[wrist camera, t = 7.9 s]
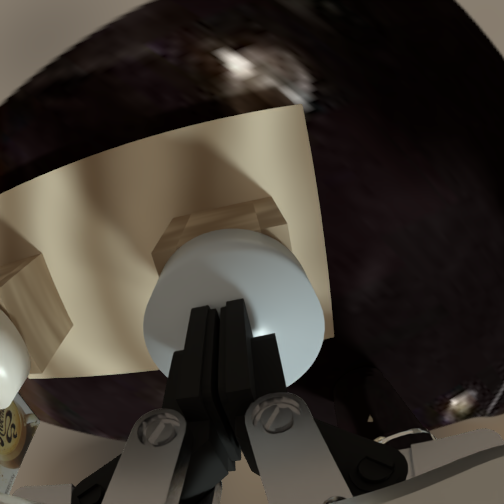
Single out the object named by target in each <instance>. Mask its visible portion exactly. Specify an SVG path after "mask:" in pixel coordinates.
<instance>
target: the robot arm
mask: <svg viewBox="0 0 504 504" xmlns="http://www.w3.org/2000/svg"><path fill="white" fill-rule="evenodd" d="M241 450H242V452H243V454H244V456H245V458H246V460H247V462H248V464H249V467H250V469H251V471H252V472H254V473H256V474H257V475H259V476H261V480H262V483H263V486H264V489H265V493H266V496H267V499H268V502H269V504H504V441H503V439H502V438H501V436H500V435H499V434H498V433H497V432H495V431H494V430H490V429H486V428H485V429H477V430H473V431H470V432H466V433H462V434H458V435H454V436H450V437H446V438H441V439H437V440H432V441H427V442H422V443H417V444H411V445H410V448H408V449H402V450H397V449H395V448H393V447H391V446H388V445H385V444H382V443H379V442H376V441H373V440H371V439H368V438H365V437H362V436H359V435H356V434H354V433H351V432H348V431H346V430H343V429H340V428H338V427H335V426H333V425H330V424H328V423H325V422H323V421H320V420H318V419H315V418H313V417H312V415H311V413H310V411H309V409H308V407H307V405H306V404H305V402H304V401H303V400H302V399H301V398H300V397H298V396H296V395H295V394H291V393H288V392H287V387H286V383H285V378H284V373H283V368H282V364H281V359H280V354H279V350H278V345H277V340H276V336H275V333H272V334H268V335H263V336H258V337H253V333H252V329H251V325H250V321H249V317H248V313H247V309H246V305H245V302H244V299H243V298H242V299H237V300H232V301H227V302H226V306H225V307H221V308H220V318H219V315H218V312H217V309H216V308H214V309H210V306H209V305H206V306H201V307H196V308H192V309H191V312H190V318H189V323H188V328H187V334H186V339H185V345H184V350H179V351H175V352H174V353H173V356H172V361H171V365H170V370H169V375H168V380H167V385H166V390H165V395H164V400H163V405H162V409H156V410H153V411H150V412H148V413H146V414H145V415H143V416H142V417H141V418H140V419H139V420H138V421H137V422H136V423H135V425H134V427H133V428H132V431H131V433H130V436H129V438H128V440H127V443H126V445H125V447H124V450H123V452H122V454H120V455H119V456H117V457H116V458H114V459H113V460H112V461H110V462H109V463H108V464H106V465H104V466H103V467H102V468H100V469H99V470H97V471H96V472H94V473H93V474H91V475H90V476H88V477H87V478H85V479H84V480H82V481H81V482H80V483H79V484H78V485H77V486H76V487H75V486H74V485H73V484H63V485H46V486H24V487H20V488H19V489H17V490H16V491H15V492H14V493H13V495H8V494H4V493H0V504H219V503H220V497H221V491H222V482H221V480H222V479H223V478H224V477H225V476H227V475H228V471H235V461H238V460H241Z"/></svg>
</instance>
